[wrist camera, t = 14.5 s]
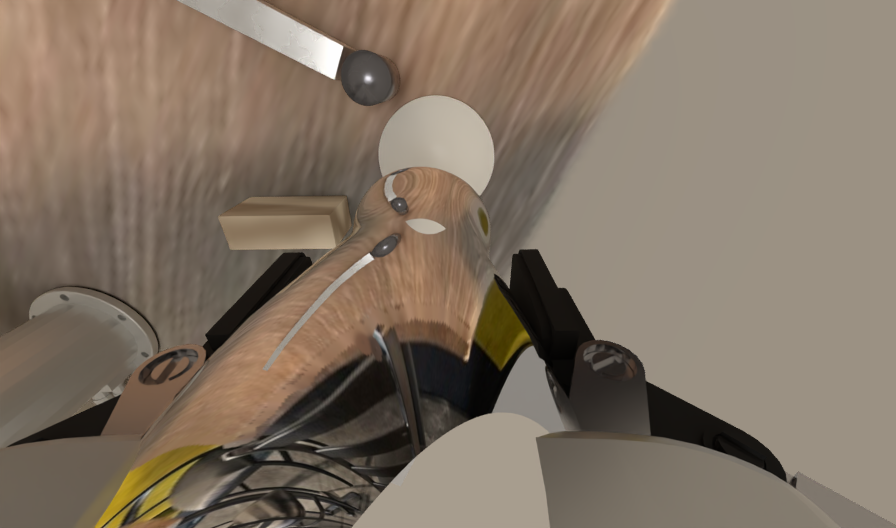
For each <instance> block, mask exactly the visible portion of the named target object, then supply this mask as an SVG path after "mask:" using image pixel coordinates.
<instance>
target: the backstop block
mask: <svg viewBox="0 0 896 528" xmlns="http://www.w3.org/2000/svg"><path fill="white" fill-rule="evenodd" d="M218 218H219V221H220V223H221V226H222V229H223V231H224V234H225V236H226V239H227V242H228V244H229V247H230V250H258V249H333V248H334V247H336V246H337V245H339V244H340V242H341V241H342V239H343V238H344V236H345V235H346V233H347V232H348V230H349V229H350V228H351V226H352V224H351V218H350V212H349V206H348V201H347V196H288V197H250V198H248V199H247V200H245V201H243V202H241V203H240V204H238V205H236V206H235V207H233V208H231V209H230V210H228V211H226V212H225V213H223V214H221V215H220V216H218Z"/></svg>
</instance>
